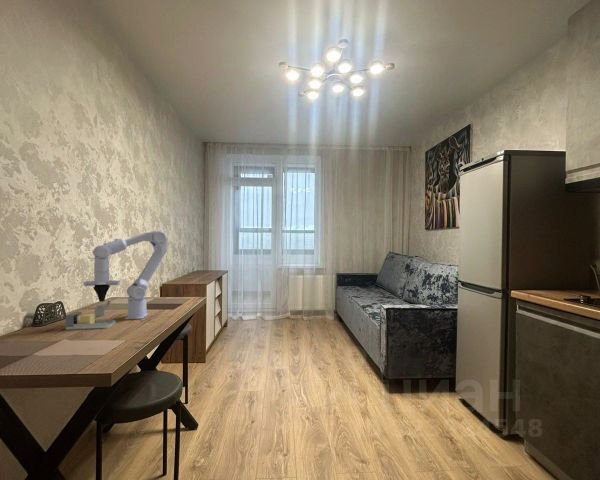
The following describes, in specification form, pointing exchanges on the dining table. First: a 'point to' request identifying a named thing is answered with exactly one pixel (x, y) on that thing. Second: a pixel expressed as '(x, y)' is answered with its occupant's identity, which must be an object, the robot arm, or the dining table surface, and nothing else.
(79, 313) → the anvil
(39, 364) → the dining table surface
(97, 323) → the grey flat tray
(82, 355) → the dining table surface
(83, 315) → the block
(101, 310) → the lighter
